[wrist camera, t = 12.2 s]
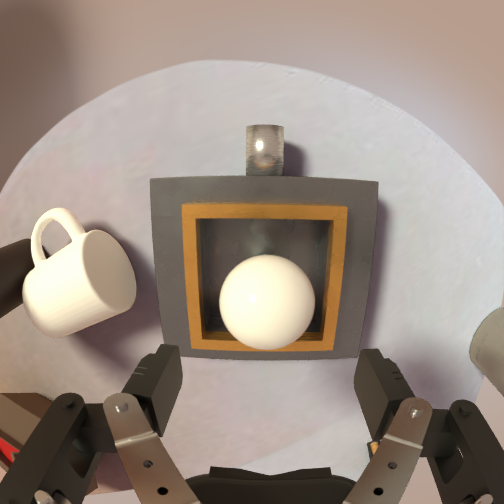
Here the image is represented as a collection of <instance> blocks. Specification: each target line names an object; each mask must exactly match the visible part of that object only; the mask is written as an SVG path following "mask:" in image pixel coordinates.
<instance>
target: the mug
mask: <svg viewBox="0 0 504 504" xmlns="http://www.w3.org/2000/svg"><path fill="white" fill-rule="evenodd" d="M52 220H57V221H58V222H60V223H61V224H62V225H63V226H64V228H65V229H66V230H67V232H68V233H69V235H70V237H71V239H72V242H71V243H70V244H69V245H67V246H66V247H64V248H63V249H61V250H60V251H58V252H57V253H55V254H54V255H52V256H51V257H50V258H48V259H46V258H45V255H44V252H43V249H42V245H41V235H42V232H43V230H44V228H45V227H46V226H47V224H48V223H49V222H51V221H52ZM31 253H32V258H33V261H34V264H35V268H34V269H33V270H31V271H30V272H29V273H28V275H27V276H26V278H25V280H24V283H23V288H22V298H23V304H24V307H25V310H26V313H27V315H28V317H29V319H30V320H31V322H32V323H33V324H34V326H35V327H36V328H37V329H38V330H39V331H41V332H42V333H43V334H45V335H47V336H49V337H53V338H62V337H65V336H67V335H70V334H72V333H74V332H77V331H79V330H82V329H84V328H87V327H89V326H91V325H94V324H96V323H99V322H101V321H103V320H106V319H108V318H111V317H113V316H115V315H118V314H120V313H123V312H125V311H127V310H129V309H130V308H131V307H132V305H133V304H134V302H135V298H136V291H137V287H136V279H135V274H134V271H133V268H132V265H131V263H130V261H129V258H128V256H127V255H126V253H125V251H124V250H123V248H122V247H121V245H120V244H119V243H118V242H117V241H116V240H115V239H114V238H113V237H112V236H111V235H109V234H108V233H106V232H104V231H101V230H92V231H89V232H87V233H86V232H85V230H84V229H83V227H82V225H81V224H80V222H79V221H78V219H77V218H76V217H75V216H74V215H73V214H72V213H71V212H70V211H68V210H67V209H64V208H54V209H51V210H49V211H47V212H46V213H45V214H43V215H42V216H41V217H40V219H39V220H38V221H37V223H36V225H35V227H34V230H33V233H32V238H31Z"/></svg>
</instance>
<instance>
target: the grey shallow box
mask: <svg viewBox="0 0 504 504" xmlns="http://www.w3.org/2000/svg"><path fill="white" fill-rule="evenodd" d="M283 172H284V127H282V126H277V125H251V126H247V127H246V176H194V177H168V178H154V179H150V198H151V221H152V238H153V251H154V264H155V274H156V284H157V294H158V302H159V310H160V318H161V326H162V333H163V339H164V344H167V345H177V346H178V347H179V351H180V356H182V357H195V358H211V359H232V360H318V359H339V358H354V357H357V354H358V349H359V345H360V339H361V334H362V329H363V323H364V318H365V312H366V305H367V299H368V292H369V285H370V278H371V270H372V262H373V253H374V243H375V232H376V219H377V204H378V182H376V181H366V180H353V179H338V178H319V177H294V176H283ZM264 254H267V255H277V256H281V257H284V258H286V259H288V260H290V261H292V262H294V263H295V264H297V265H298V266H299V267H300V268H301V269H302V270H303V271H304V272H305V274H306V275H307V276H308V278H309V280H310V282H311V284H312V287H313V290H314V295H315V309H314V314H313V317H312V320H311V322H310V324H309V326H308V328H307V329H306V331H305V332H304V333H303V334H302V335H301V336H300V337H299V338H298V339H297V340H296V341H294V342H293V343H291V344H289V345H287V346H285V347H282V348H279V349H273V350H260V349H255V348H252V347H249V346H247V345H245V344H243V343H241V342H240V341H238V340H237V339H236V338H235V337H234V336H233V335H232V334H231V333H230V332H229V331H228V329H227V328H226V326H225V324H224V322H223V320H222V317H221V313H220V308H219V297H220V291H221V288H222V285H223V283H224V281H225V279H226V277H227V276H228V274H229V273H230V272H231V271H232V269H233V268H234V267H236V266H237V265H238V264H239V263H241V262H242V261H244V260H246V259H248V258H251V257H254V256H258V255H264Z"/></svg>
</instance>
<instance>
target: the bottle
mask: <svg viewBox="0 0 504 504" xmlns="http://www.w3.org/2000/svg"><path fill="white" fill-rule="evenodd" d="M42 249H43V248H42ZM43 252H44V255H45V258H46V259H48V257H47V255H46V253H45V251H44V249H43ZM34 268H35V264H34V261H33V258H32V253H31V239H23V240H20V241H18V242H15V243H12V244H10V245H7V246H5V247H2V248H0V318H1V317H3V316H4V315H6V314H7V313H9V312H10V311H12V310H13V309H15V308H16V307H18V306H19V305H21V304H22V303H23V298H22V288H23V283H24V280H25V278H26V276H27V275H28V273H29V272H30V271H31V270H33V269H34Z"/></svg>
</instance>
